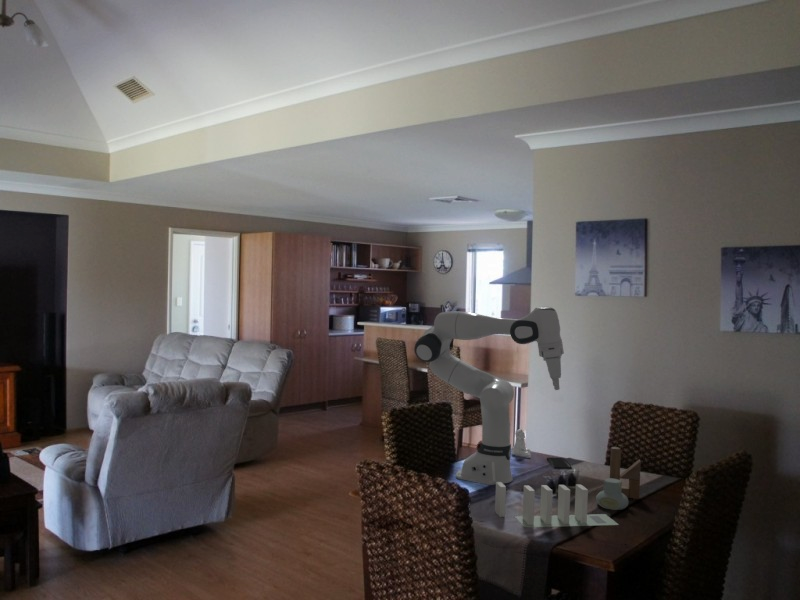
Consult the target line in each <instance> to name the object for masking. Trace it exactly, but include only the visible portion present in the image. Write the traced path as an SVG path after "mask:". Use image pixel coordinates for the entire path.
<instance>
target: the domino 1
mask: <svg viewBox="0 0 800 600" xmlns="http://www.w3.org/2000/svg"><path fill="white" fill-rule="evenodd" d="M494 497H495V505H494V513H496V514H497V516H498V517H500V518H506V505H507V504H506V502H507V501H506V500H507V486H506V485H505V483H502V482H496V484H495V496H494Z"/></svg>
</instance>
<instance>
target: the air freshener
mask: <svg viewBox="0 0 800 600" xmlns="http://www.w3.org/2000/svg"><path fill="white" fill-rule="evenodd" d="M621 486H623V483H622V481H621V480H618V479H613V478H610V477H608V478H604V481H603V490H601V491H600V492H598V493H597V494H596V496H595V501H596V504H597V505H599V506H600V507H601V508H603V509H607V510H612V511H621V510H624V509H626V508H627V507H628V506H629V498H627V497H626V496H625V495H624V494H623V493H621Z"/></svg>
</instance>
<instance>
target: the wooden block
mask: <svg viewBox="0 0 800 600" xmlns="http://www.w3.org/2000/svg"><path fill="white" fill-rule="evenodd" d="M621 454H622V449H621V447H617V446H611V447H610V456H609V457H610V459H609V460H610V463H609V478H613V479H618V480H620V479H623V480H628V486H625V485H621V493H623V494H624V495H625V496H626V497H627V498H628V499H630V498H633V499H632V500H639V499H640V489H641V487H640V485H641V466H642V465H641V463H642V462H641V459H640V458H639V459H637V460H636V461H635V462H633V464H632V465H630V466H629V467H628V468H626V470H624V471H623V472H622V473H621ZM620 481H621V480H620Z"/></svg>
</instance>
